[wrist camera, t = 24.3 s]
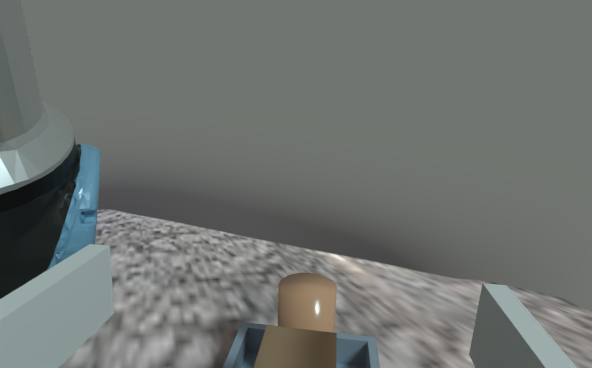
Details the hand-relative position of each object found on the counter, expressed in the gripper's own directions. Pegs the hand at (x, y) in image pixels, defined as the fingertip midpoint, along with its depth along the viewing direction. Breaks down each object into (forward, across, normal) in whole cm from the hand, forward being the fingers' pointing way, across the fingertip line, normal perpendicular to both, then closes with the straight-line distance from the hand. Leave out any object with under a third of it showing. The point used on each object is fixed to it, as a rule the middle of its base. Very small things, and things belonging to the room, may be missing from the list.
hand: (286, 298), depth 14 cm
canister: (+18, 0, -19) cm, 26 cm away
